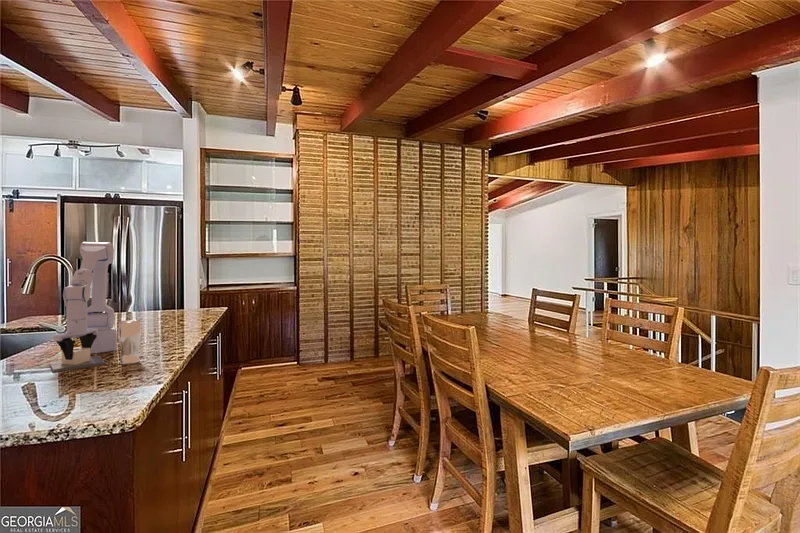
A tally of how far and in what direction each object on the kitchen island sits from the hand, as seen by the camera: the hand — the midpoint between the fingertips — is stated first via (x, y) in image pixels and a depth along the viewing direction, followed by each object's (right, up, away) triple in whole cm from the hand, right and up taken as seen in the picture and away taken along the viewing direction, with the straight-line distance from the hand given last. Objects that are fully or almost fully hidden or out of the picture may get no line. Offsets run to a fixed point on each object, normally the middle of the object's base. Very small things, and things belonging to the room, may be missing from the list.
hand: (77, 357), depth 141 cm
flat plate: (0, -3, 0) cm, 3 cm away
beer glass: (+15, -3, +5) cm, 16 cm away
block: (0, -2, 0) cm, 2 cm away
